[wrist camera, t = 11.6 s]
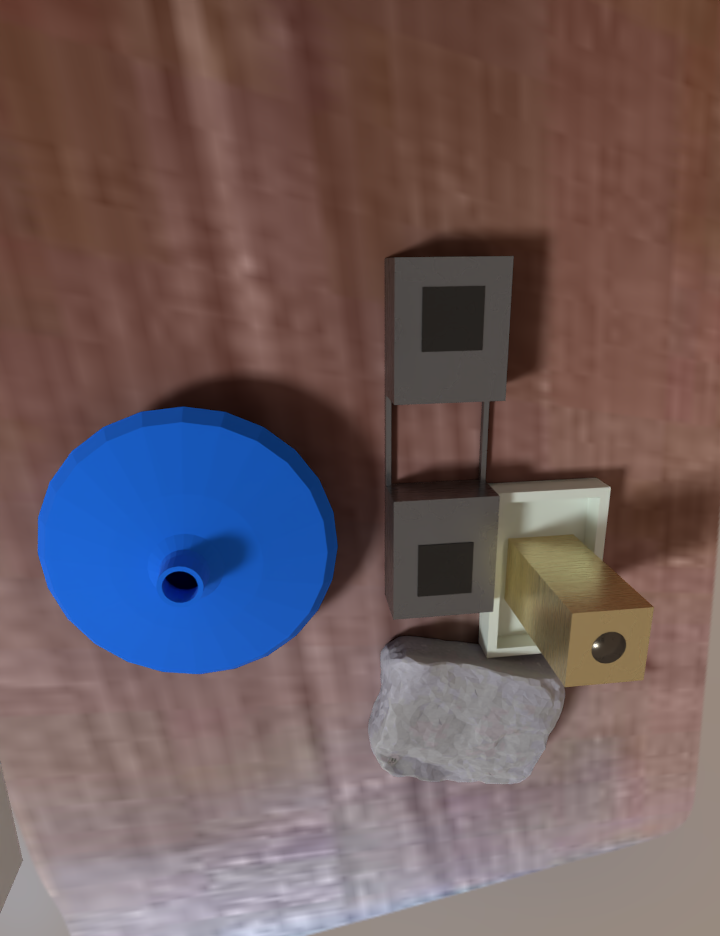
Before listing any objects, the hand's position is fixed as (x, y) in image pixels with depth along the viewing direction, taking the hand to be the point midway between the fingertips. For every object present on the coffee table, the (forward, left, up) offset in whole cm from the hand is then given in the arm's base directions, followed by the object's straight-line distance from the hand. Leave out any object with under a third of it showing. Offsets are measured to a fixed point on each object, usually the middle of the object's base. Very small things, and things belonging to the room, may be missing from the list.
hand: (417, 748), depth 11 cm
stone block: (+21, +9, -27) cm, 35 cm away
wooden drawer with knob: (+11, +14, -26) cm, 31 cm away
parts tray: (+11, +14, -27) cm, 32 cm away
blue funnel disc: (+7, -7, -27) cm, 29 cm away
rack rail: (+2, +7, -27) cm, 28 cm away
